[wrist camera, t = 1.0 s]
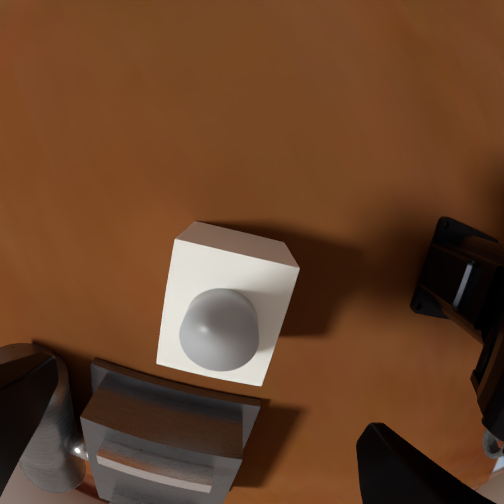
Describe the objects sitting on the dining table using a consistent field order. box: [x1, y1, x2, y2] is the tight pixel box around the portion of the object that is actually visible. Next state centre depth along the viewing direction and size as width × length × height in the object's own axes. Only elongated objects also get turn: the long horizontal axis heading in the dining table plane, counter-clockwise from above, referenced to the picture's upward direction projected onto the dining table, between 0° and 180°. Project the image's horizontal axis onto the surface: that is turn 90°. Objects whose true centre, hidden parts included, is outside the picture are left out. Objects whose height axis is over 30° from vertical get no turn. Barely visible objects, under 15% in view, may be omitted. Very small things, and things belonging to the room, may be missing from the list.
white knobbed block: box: [156, 221, 300, 386], centre depth 14 cm, size 5×6×6 cm
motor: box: [0, 343, 261, 504], centre depth 17 cm, size 20×14×7 cm
